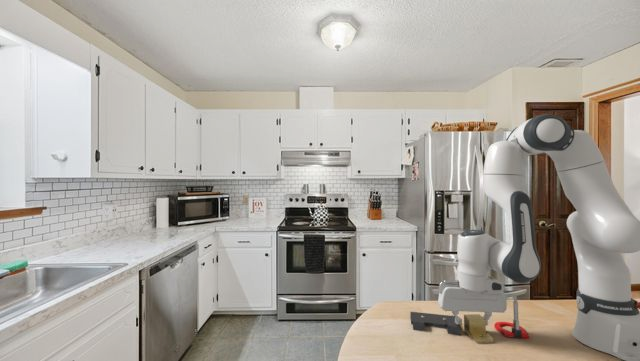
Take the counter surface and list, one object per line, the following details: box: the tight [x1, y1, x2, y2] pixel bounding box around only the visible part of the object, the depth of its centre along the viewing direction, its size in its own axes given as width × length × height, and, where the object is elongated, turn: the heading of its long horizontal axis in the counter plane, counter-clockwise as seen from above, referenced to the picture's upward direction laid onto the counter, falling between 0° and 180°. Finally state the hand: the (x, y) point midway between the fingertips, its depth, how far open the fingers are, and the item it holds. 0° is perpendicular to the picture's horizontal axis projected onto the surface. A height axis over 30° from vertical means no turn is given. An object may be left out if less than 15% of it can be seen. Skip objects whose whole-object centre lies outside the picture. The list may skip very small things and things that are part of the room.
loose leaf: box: [463, 313, 494, 344], centre depth 89 cm, size 5×8×5 cm, turn 0°
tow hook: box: [494, 294, 530, 339], centre depth 93 cm, size 8×13×9 cm
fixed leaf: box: [410, 311, 461, 336], centre depth 97 cm, size 15×10×3 cm
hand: (471, 324), depth 92 cm, fingers open, 7 cm apart
